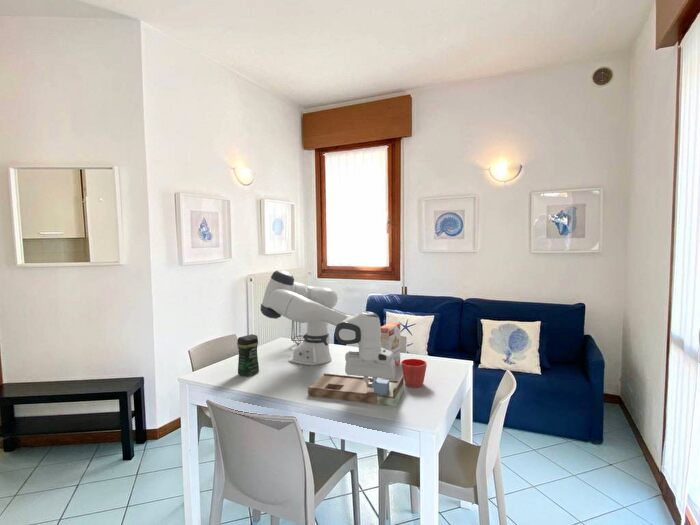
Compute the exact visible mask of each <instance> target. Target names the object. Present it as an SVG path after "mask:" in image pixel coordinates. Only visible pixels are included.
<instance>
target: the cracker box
mask: <svg viewBox="0 0 700 525" xmlns="http://www.w3.org/2000/svg"><path fill="white" fill-rule="evenodd" d="M380 327H381V336H380V343H381V347H382V348H384V349H387V350H389V351H392V352H393V356H392V358H393V359H394V361H395V366H396V367H397V366H399V365H400V364H401V323H399V322H393V321H391V322H388V323H387V324H383V325H382V326H380Z"/></svg>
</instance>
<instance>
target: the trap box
mask: <svg viewBox="0 0 700 525" xmlns="http://www.w3.org/2000/svg"><path fill="white" fill-rule="evenodd" d="M380 379H381V380H387V379H385V378H380ZM368 380H369V382H373V381H374V380H372V377H368ZM388 380H389V392H388V393H387V395H382V394H374V388H368V387H366V382H365V381H364V376H355V375H346V374H344V375H343V374H332V373H323V374H322V376H321V377H320V378H318V379H317V380H316V381H315V382H314V383H313V384H312V385H310V386H308V387H307V396H308V397H313V398H315V397H316V398H322V399H323V398H324V399H331V400H339V401H345V402H346V401H348V402H355V403H363V404H372V405H380V406H386V407H396V406H397V404H398V402H399V400H400V399H401V396H402V395H403V393H404V390H405V381H404V376H403V375H401V376H400V378H399V379H398V380H396V379H395V380H394V379H388Z"/></svg>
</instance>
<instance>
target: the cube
mask: <svg viewBox="0 0 700 525" xmlns="http://www.w3.org/2000/svg"><path fill="white" fill-rule="evenodd" d="M381 379H382V378H377V380H376V381H375V382H374V394H382V395H387V393H388V392H389V380H390V379H386V380H381Z"/></svg>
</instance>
